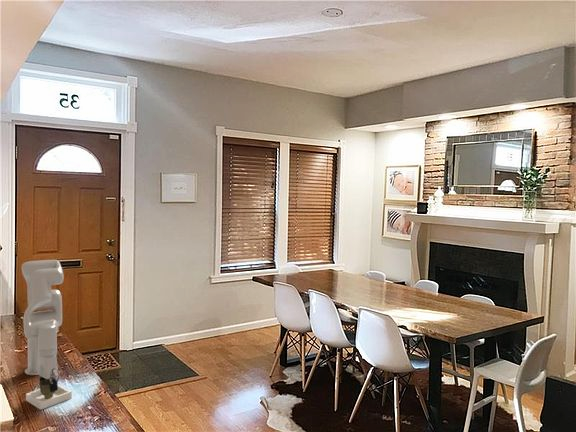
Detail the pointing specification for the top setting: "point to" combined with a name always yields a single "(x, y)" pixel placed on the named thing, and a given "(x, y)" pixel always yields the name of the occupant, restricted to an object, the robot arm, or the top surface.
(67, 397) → the tray
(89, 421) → the top surface
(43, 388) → the ornate bronze bell
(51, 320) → the robot arm
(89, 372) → the top surface
